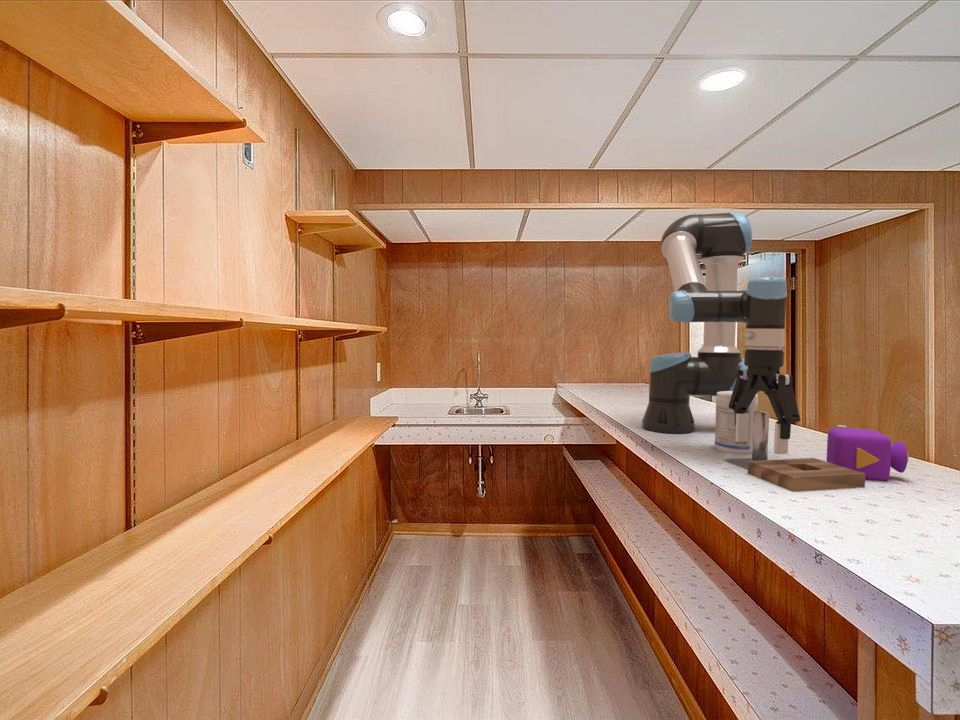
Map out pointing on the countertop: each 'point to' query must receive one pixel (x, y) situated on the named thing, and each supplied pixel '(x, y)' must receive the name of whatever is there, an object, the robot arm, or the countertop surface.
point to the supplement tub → (732, 425)
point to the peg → (760, 435)
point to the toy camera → (865, 452)
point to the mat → (739, 462)
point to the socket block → (806, 474)
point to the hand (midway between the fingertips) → (760, 447)
